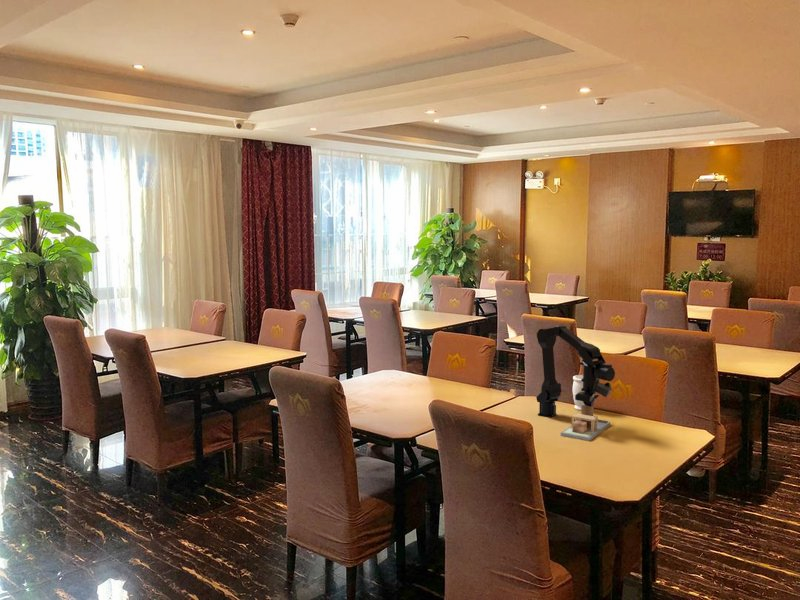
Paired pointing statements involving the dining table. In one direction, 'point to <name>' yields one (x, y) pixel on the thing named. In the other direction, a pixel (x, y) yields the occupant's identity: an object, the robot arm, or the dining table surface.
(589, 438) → the bridge deck
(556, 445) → the dining table surface
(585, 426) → the wooden block
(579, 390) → the jar
